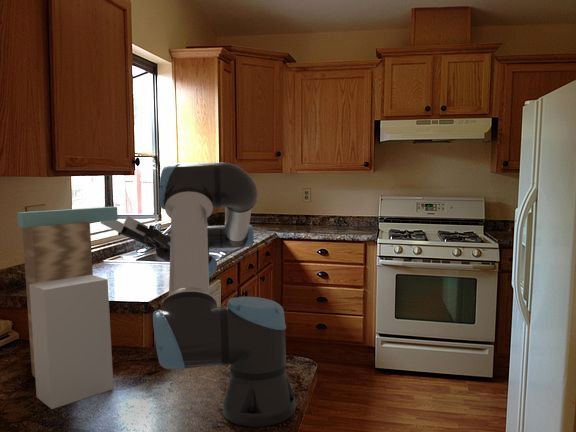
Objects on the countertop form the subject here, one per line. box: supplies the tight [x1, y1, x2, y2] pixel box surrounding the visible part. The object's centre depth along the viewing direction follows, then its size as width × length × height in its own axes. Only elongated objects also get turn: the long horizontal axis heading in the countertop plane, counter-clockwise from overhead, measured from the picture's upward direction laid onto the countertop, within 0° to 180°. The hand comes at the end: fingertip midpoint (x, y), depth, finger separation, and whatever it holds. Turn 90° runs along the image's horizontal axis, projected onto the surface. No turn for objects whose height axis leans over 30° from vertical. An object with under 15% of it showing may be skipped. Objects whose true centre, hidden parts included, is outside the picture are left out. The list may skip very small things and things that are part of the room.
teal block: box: [16, 206, 119, 228], centre depth 131 cm, size 24×4×4 cm, turn 135°
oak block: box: [21, 222, 94, 378], centre depth 130 cm, size 14×7×38 cm, turn 135°
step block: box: [29, 275, 114, 410], centre depth 117 cm, size 14×9×26 cm, turn 135°
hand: (113, 219), depth 140 cm, fingers open, 13 cm apart
